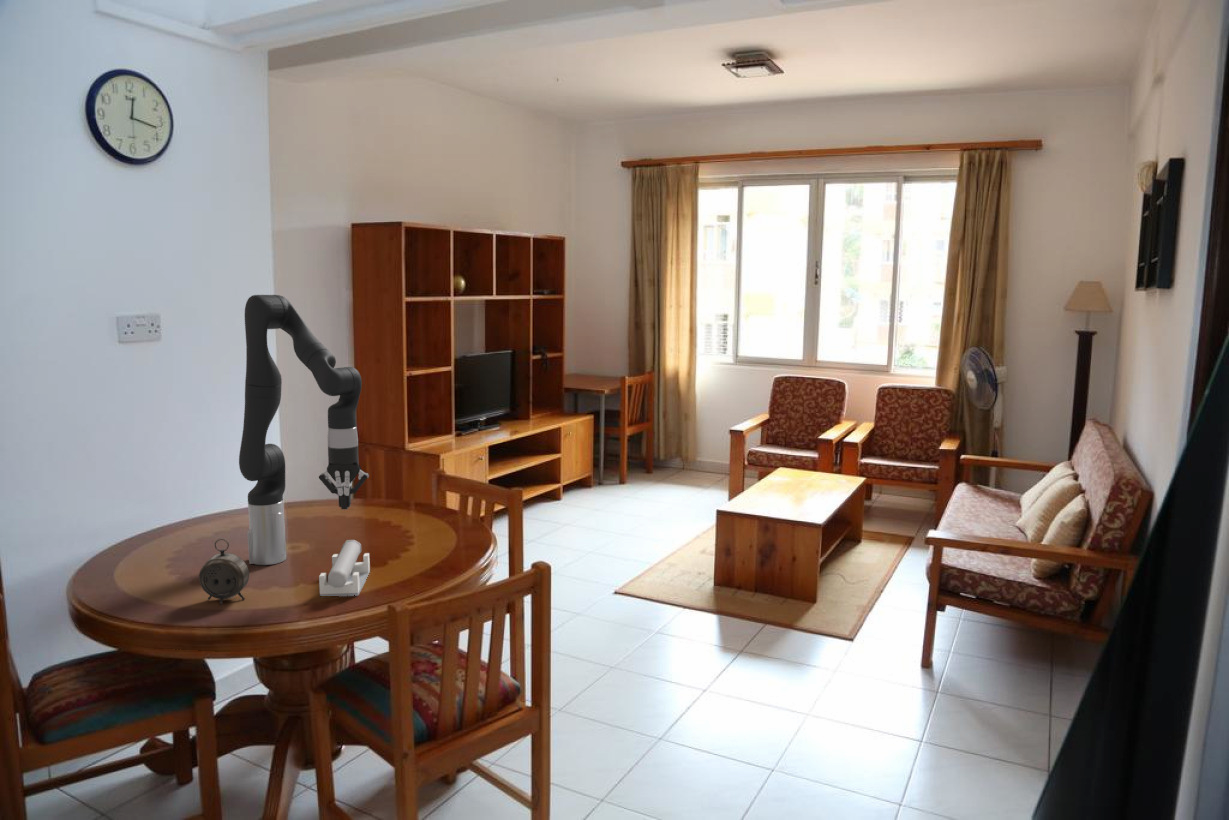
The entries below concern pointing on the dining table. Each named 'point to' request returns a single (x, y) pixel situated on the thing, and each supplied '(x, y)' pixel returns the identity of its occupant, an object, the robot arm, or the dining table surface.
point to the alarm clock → (224, 575)
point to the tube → (344, 563)
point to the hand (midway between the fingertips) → (345, 508)
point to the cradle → (353, 582)
